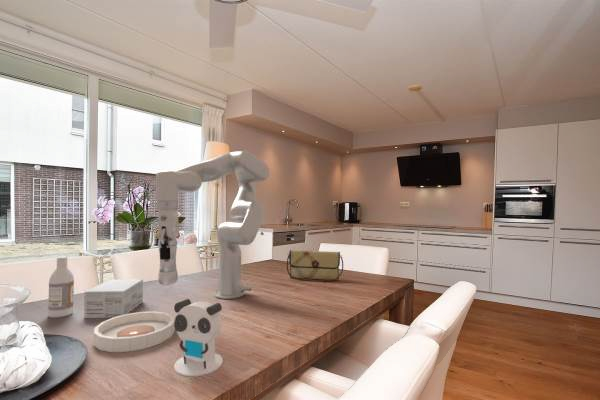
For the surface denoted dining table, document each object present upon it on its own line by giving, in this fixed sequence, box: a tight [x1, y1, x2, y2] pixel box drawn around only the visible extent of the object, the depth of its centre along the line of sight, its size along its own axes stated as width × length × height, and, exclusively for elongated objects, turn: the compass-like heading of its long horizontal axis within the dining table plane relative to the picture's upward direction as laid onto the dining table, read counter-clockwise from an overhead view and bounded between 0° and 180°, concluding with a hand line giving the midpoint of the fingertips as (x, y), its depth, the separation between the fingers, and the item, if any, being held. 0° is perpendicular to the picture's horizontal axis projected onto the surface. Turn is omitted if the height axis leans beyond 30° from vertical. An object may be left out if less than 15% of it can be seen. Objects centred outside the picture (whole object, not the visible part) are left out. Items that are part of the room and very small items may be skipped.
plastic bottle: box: [157, 237, 179, 286], centre depth 111 cm, size 6×7×20 cm
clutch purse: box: [286, 249, 344, 283], centre depth 167 cm, size 30×7×15 cm, turn 82°
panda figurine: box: [173, 298, 223, 377], centre depth 78 cm, size 12×11×15 cm
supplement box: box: [83, 278, 144, 319], centre depth 117 cm, size 17×13×9 cm
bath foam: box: [47, 256, 75, 319], centre depth 111 cm, size 7×7×20 cm
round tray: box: [93, 311, 176, 353], centre depth 94 cm, size 21×21×4 cm
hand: (168, 256), depth 111 cm, fingers closed on plastic bottle, 6 cm apart
